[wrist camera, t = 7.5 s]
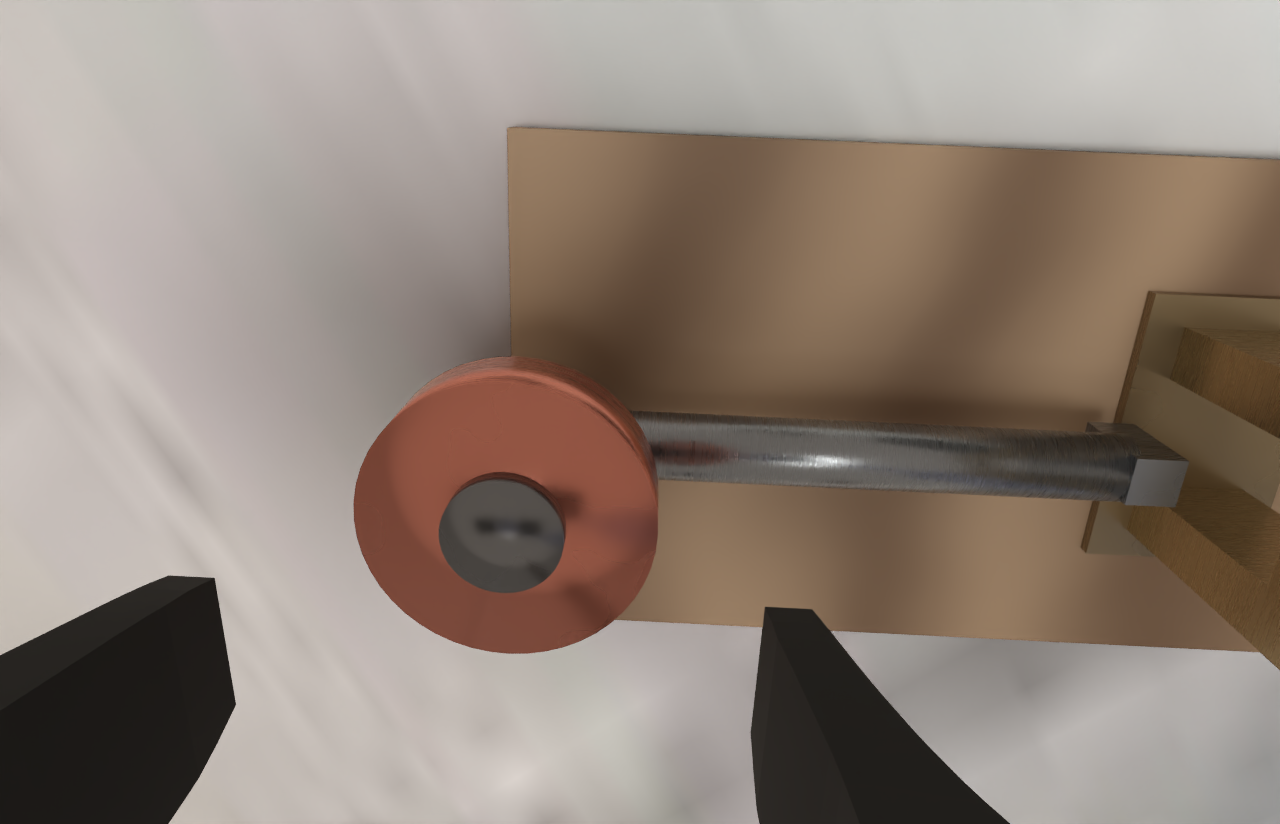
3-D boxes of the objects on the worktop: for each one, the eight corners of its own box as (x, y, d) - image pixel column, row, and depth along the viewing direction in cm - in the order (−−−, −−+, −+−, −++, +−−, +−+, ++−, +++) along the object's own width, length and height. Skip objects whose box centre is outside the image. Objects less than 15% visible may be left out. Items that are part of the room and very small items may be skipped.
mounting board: (1443, 166, 17) (1477, 169, 17) (1267, 634, 22) (1289, 653, 21) (514, 126, 18) (507, 127, 17) (520, 597, 22) (515, 615, 21)
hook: (1157, 334, 17) (1368, 432, 12) (1100, 544, 19) (1261, 707, 14) (428, 301, 17) (330, 383, 12) (440, 512, 19) (358, 660, 14)
